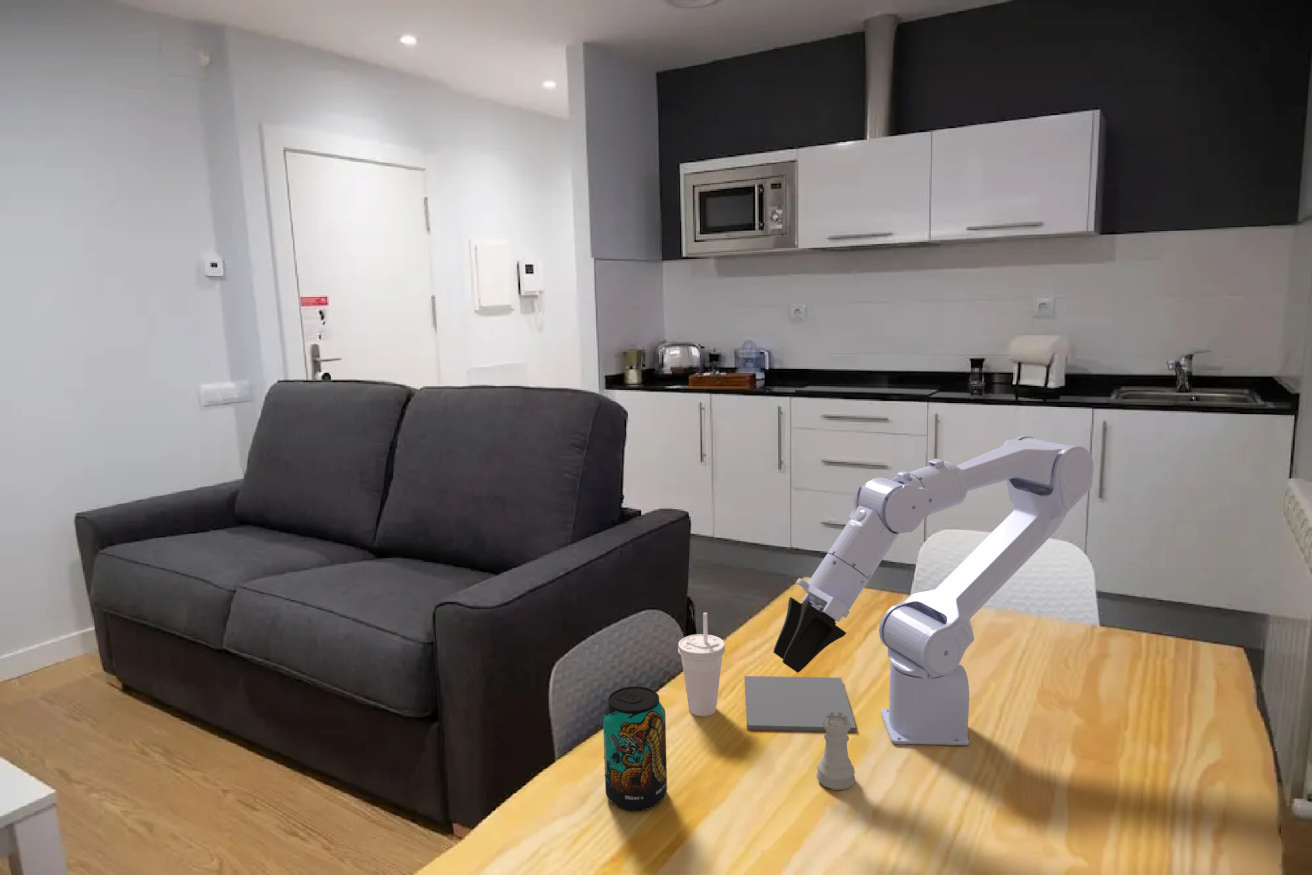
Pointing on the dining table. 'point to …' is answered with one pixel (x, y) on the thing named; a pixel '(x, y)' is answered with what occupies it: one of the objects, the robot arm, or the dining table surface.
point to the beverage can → (635, 748)
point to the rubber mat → (794, 702)
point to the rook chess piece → (836, 755)
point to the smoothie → (702, 670)
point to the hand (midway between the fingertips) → (784, 662)
